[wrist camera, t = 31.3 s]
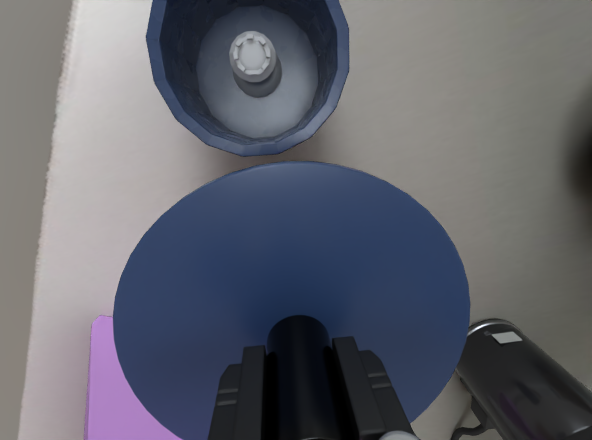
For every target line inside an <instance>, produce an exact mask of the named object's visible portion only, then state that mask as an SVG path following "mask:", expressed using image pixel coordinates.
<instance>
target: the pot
mask: <svg viewBox="0 0 592 440" xmlns="http://www.w3.org/2000/svg"><path fill="white" fill-rule="evenodd" d="M247 31H256V32H259V33H261V34H264V35H265V36H266V37H267V38H268V39H269V40H270V41H271V43H272V45H273V47H274V49H275V52H276V54H277V56H278V58H279V60H280V62H281V67H282V77H281V81H280V84H279V86H278V87H277V88H276V90H275V91H274V92H273V93H271V94H269V95H268V96H266V97H257V98H255V97H252V96H249V95H247V94H245V93H244V92H243V91H242V90H241V89H240V88H239V87H238V85H237V84H236V82H235V80H234V77H233V70H232V66H231V64H230V56H229V52H230V48H231V44H232V43H233V41H234V40H235V39H236V37H237V36H238V35H240V34H242V33H244V32H247ZM146 38H147V39H146V42H147V47H148V52H149V58H150V63H151V68H152V74H153V79H154V82H155V85H156V87H157V88H158V90H159V92H160V93H161V95H162V97H163V98H164V100H165V102H166V104H167V105H168V107H169V109H170V110H171V112H172V114H173V115H174V117H175V119H176V120H177V121H178V122H180V123H181V124H182V125H183V126H184V127H186V128H187V129H188V130H189V131H191V132H192V133H193V134H194V135H195V136H197V137H198V138H199V139H200V140H201V141H203V142H204V143H205V144H207V145H209V146H212V147H215V148H218V149H221V150H224V151H227V152H230V153H233V154H236V155H239V156H243V157H246V156H260V155H273V154H280V153H282V152H284V151H286V150H288V149H290V148H292V147H294V146H295V145H297V144H299V143H301V142H303V141H305V140H307V139H309V138H310V137H312V136H313V135H314V134H315V132H316V131H317V130H318V129H319V128H320V127H321V125H322V124H323V123H324V122H325V121H326V120H327V118H328V117H329V116H330V115H331V114H332V112H333V111H334V110H335V108H336V107H337V104H338V101H339V98H340V95H341V92H342V90H343V87H344V84H345V81H346V78H347V75H348V73H349V28H348V24H347V21H346V19H345V16H344V13H343V11H342V8H341V6H340V3H339V0H153V2H152V7H151V12H150V18H149V23H148V29H147V34H146Z"/></svg>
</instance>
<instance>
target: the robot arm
mask: <svg viewBox="0 0 592 440" xmlns="http://www.w3.org/2000/svg"><path fill="white" fill-rule="evenodd" d="M332 350H333V354H334V358H335V362H336V366H337V370H338V374H339V378H340V381H341V385H342V389H343V393H344V397H345V401H346V405H347V409H348V413H349V417H350V421H351V424H352V428H353V432H354V436H355V440H421V439H419V438H418V437H417V436H416V435H415V433H414V432H413V430H412V428H411V425H410V423H409V421H408V419H407V416H406V414H405V412H404V410H403V407H402V405H401V403H400V401H399V399H398V396H397V394H396V392H395V390H394V387H392V383H391V381H390V378H389V376H388V375H387V372H386V370H385V367H384V365H383V363H382V361H381V359H380V358H379V357H378V356H376V355H375V354H374V353H373V352H372V351H371V350H363V351H359V350H358V347H357V344H356V342H355V339H354V337H353V336H346V337H337V338H332ZM266 362H267V355H266V348H265V345H258V346H249V347H244V349H243V356H242V363H240V364H231V365H228V367H227V368H226V370H225V371H224V373H223V374H222V376H221V377H220V381H219V386H218V391H217V392H218V393H217V396H216V401H215V406H214V411H213V416H212V420H211V425H210V430H209V435H208V440H264V436H265V399H266ZM455 370H456V371H457V373H458V374H459V375H460V376H461V378H460V380H461V382H462V383H463V384H464V386H465V387H466V389H467V390H468V391H469V393H470V394H471V396H472V402H471V410H472V411H473V412H474V414H475V415H476V417H477V418H478V420H479V421H480V423H481V424H480V425H479V426H477V427H475V428H465V427H461V428H458V429H457V430H456V431H455V432H454V434H453V436H452V439H451V440H459V438H460V437H461V436H462V435H464V434H465V435H471V436H476V435H479V434H481V433H483V432H485V431H486V430H488V429H496V430H497V432H498V433H499V434H500V436H501V437H502V439H503V440H592V392H591V391H590V390H589V389H587V388H586V387H585V386H584V385H583V384H582V383H580V382H579V381H578V380H577V379H576V378H574V377H573V376H572V375H571V374H570V373H569V372H567V371H566V370H565V369H564V368H563V367H562V366H560V365H559V364H558V363H557V362H556V361H555V360H553V359H552V358H551V357H550V356H549V355H548V354H546V353H545V352H544V351H543V350H542V349H540V348H539V347H538V346H537V345H536V344H535V343H533V342H532V341H531V340H530V339H529V338H528V337H526V336H525V335H524V334H523V333H522V331H521V330H520V329H518V328H517V327H516V326H515V325H514V324H512V323H510V322H508V321H505V320H500V319H491V320H485V321H482V322H479V323H477V324H475V325H473V326H471V327H469V328H468V333H467V338H466V343H465V346H464V348H463V351H462V354H461V357H460V360H459V362H458V364H457V366H456V368H455Z"/></svg>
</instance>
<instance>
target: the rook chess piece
mask: <svg viewBox="0 0 592 440" xmlns="http://www.w3.org/2000/svg"><path fill="white" fill-rule="evenodd" d="M229 56H230V64H231V66H232V70H233V77H234V80H235V82H236V84H237V85H238V87H239V88H240V89H241V90H242V91H243V92H244V93H245V94H247V95H249V96H252V97H255V98H257V97H266V96H268V95H269V94H271V93H273V92H274V91H275V90H276V88H277V87H278V86H279V84H280V81H281V77H282V67H281V62H280V60H279V58H278V56H277V54H276V52H275V49H274V47H273V45H272V43H271V41H270V40H269V39H268V38H267V37H266V36H265V35H264V34H261V33H259V32H256V31H247V32H244V33H242V34H240V35H238V36H237V37H236V39H235V40H234V41H233V43H232V44H231V48H230V52H229Z"/></svg>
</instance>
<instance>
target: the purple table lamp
mask: <svg viewBox="0 0 592 440" xmlns="http://www.w3.org/2000/svg"><path fill="white" fill-rule="evenodd" d="M84 440H182V439H180V438H179V437H177V436H176V435H174V434H173V433H172V432H170V431H169V430H168V429H166V428H165V427H164V426H162V425H161V424H160V423H159V422H158V421H157V420H156V419H155V418H154V417H153V416H152V415H151V414H150V413H149V412H148V411H147V410H146V409H145V407H144V406H143V405H142V404H141V402H140V401H139V400H138V398H137V397H136V396H135V394H134V393H133V391H132V389H131V387H130V386H129V384H128V382H127V380H126V379H125V376H124V374H123V371H122V368H121V366H120V363H119V361H118V357H117V352H116V348H115V343H114V334H113V317H108V316H102V315H100V316H99V317H98V318H97V319H96V320H95V321H94V322H93V323H92V327H91V342H90V356H89V370H88V385H87V399H86V414H85V428H84Z"/></svg>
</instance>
